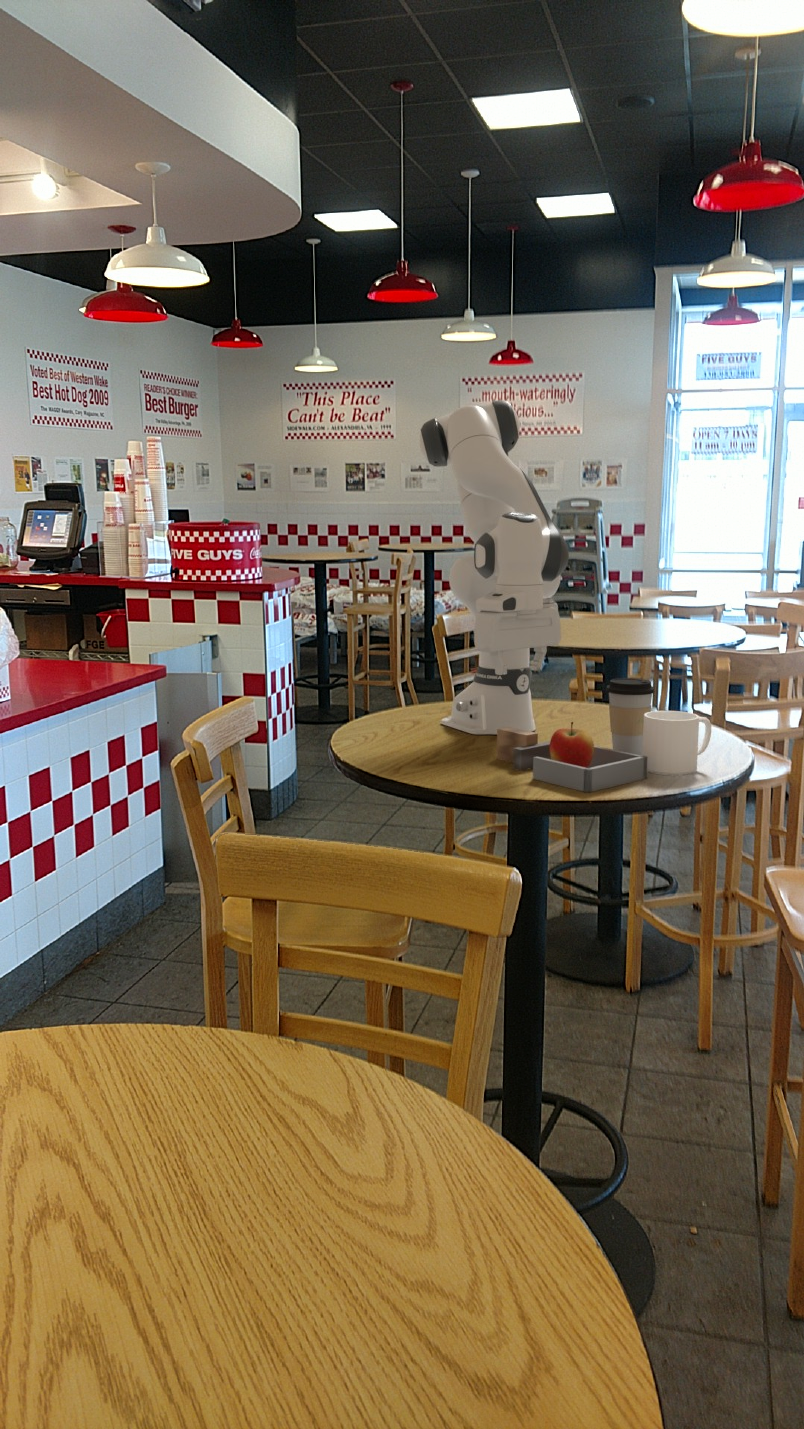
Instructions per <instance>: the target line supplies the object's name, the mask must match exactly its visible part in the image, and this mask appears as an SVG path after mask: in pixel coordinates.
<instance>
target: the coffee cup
mask: <svg viewBox="0 0 804 1429" xmlns="http://www.w3.org/2000/svg"><path fill="white" fill-rule="evenodd" d="M605 692H606V693H608V700H609V701H608V702H609V704H608V710H609V723H610V724H609V727H610V732H611V739H612V740H611V741H612V743H611V744H612V749H613V750H618V751H622V752H627V753H632V754H637V755H642V753H643V727H644V714H645V713H647V712H652V711H651V710H652V700H653V699H652V698H653V694H654V693H656V692H655V687H654V686H652V680H651V681H650V680H648V679H643V678H632V677H631V678H630V677H620V678H619V677H618V678H613V679H610V680H609V684H608V685H606V689H605Z"/></svg>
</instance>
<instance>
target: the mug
mask: <svg viewBox="0 0 804 1429" xmlns="http://www.w3.org/2000/svg"><path fill="white" fill-rule="evenodd" d="M700 722H702V723H704V727H705V728H704V730H705V732H704V737H703V739H702V743H701V744H700V746H699V731H700ZM711 735H712V723H711V721H710V719H708V718H707V717H706V716H700V715H698V714H696V713H692V712H687V711H679V710H655V711H654V710H653V711H651V712H647V713H645V714H644V727H643V753H642V756H646V757H647V773H651V774H656V775H661V776H662V775H663V776H687V775H691V774H694V773H696V772H697V770H698V756H700V755H702V754H703V753H704V752H705V751H706V749H707V748H708V746H709V744H710V741H711Z"/></svg>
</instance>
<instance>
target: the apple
mask: <svg viewBox="0 0 804 1429" xmlns="http://www.w3.org/2000/svg"><path fill="white" fill-rule="evenodd" d="M570 724H571V725H570V727H571V728H559V729H557V730H555V731H554V732H553V734H552V735H551V739H550V740H549V741H550V747H549V749H550V757H551V760H555V761H559V762H563V763H568V764H572V765H576V766H581V767H585V768H590V767H589V765H590V763H591V761H592V758H593V754H594V746H595V743H594V739H593V738H592V736H591V735H590V734H589V733H587V732H586V731H585V730H583V729H581V728H580V729H579V728H573V724H574V721H571V723H570Z"/></svg>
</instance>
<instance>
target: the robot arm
mask: <svg viewBox="0 0 804 1429" xmlns="http://www.w3.org/2000/svg"><path fill="white" fill-rule="evenodd" d="M520 425H521V424H520V418H519V416H518V414H517V412H516V410H515V408H513V405H512V404H511V402H509V401H507V400H492V401H491V402H487V403H481V404H476V405H473V404H472V405H471V404H470V405H463V406H461V407H459V408H456V410H454V411H452V412H449V413H447V414H444V415H442V416H439V417H434V418H431V419H429V420H427V421H426V422H424V423H423V425H422V426H421V428H420V434H419V447H420V451H421V453H422V455H423V456H424V458H425V459H426V460H427V462H428V463H429V464H430V465H431V466H433V467H435V468H436V467H442V468H443V467H447V466H448V465H451V468H452V472H453V475H454V477H455V479H456V481H457V489H458V490H457V491H458V497H459V502H460V507H461V509H462V514H463V515H462V516H463V519H464V523H465V526H466V532H467V535H468V537H469V538H470V540H472V542H474V548H473V549H474V550H473V554H469V555H465V556H462V557H459V558H457V559H456V560H455V561H454V563H453V564H452V567H451V568H450V571H449V578H448V582H449V588H450V590H451V592H452V594H453V596H454V597H455V599H456V600H458V601H459V602H460V603H462V605H464V606H465V607H466V609H467V610H468V611H469V613H470V615H471V616H472V618H473V620H474V628H473V629H474V631H473V633H474V634H473V635H474V636H473V642H474V646H475V648H476V651H478V654H479V657H478V658H479V660H478V662H479V665H478V666H477V667H474V668H470V670H471V672H470V674H471V675H472V674H474V676H473V682H472V683H470V684H469V685H468V686H467V687H466V688H464V689H463V690H462V691H461V692H460V693H458V694H457V695H456V696H455V697H454V698H453V700H452V706H451V716H450V715H449V716H446V717H444V718H442V719H441V720H440V724H441V725H443V726H447V727H449V728H453V729H456V730H459V731H461V732H462V731H463V732H465V733H469V734H472V735H497V729H500V728H506V727H510V728H515V729H520V730H525V731H529V732H534V731H536V729H537V728H536V723H535V722H536V721H535V719H534V715H533V714H534V713H533V706H532V705H533V704H532V694H531V693H532V692H531V688H530V686H531V682H532V673H533V672H532V671H535V672H536V671H541V670H542V668H543V660H544V658H545V657H546V654H547V651H548V650H547V649H548V648H547V647H550V646H559V644H560V642H561V640H562V627H561V618H560V613H559V606H558V603H557V602H556V601H555V600H554V598H553V596H554V595H555V594H556V592H557V591H558V588H559V587H560V584H561V575H562V573H563V572H564V571H565V570H566V568H567V567H568V563H569V559H570V558H569V557H570V556H569V554H570V553H569V547H568V544H567V542H566V540H565V538H564V536H563V535H562V534H561V533H560V531H559V530H558V529H557V527H556V526H555V524H554V523H553V521H552V519H551V516H550V515H549V513H548V511H547V509H546V507H545V504H544V503H543V501H542V499H541V497H540V495H539V493H538V491H537V489H536V487H535V485H534V483H533V482H532V480H531V478H530V476H529V475H528V473H527V472H525V471H524V470H523V469H521V468H520V467H518V466H517V465H516V464H515V463H514V462H513V461H512V460H511V458H510V457H509V452H510V451H512V449H514V448H515V446H516V444H517V443H518V440H519V438H520V437H519V435H520V427H521V426H520ZM532 648H533V652H535V654H534V657H533V660H530V656H531V654H530V649H532Z"/></svg>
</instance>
